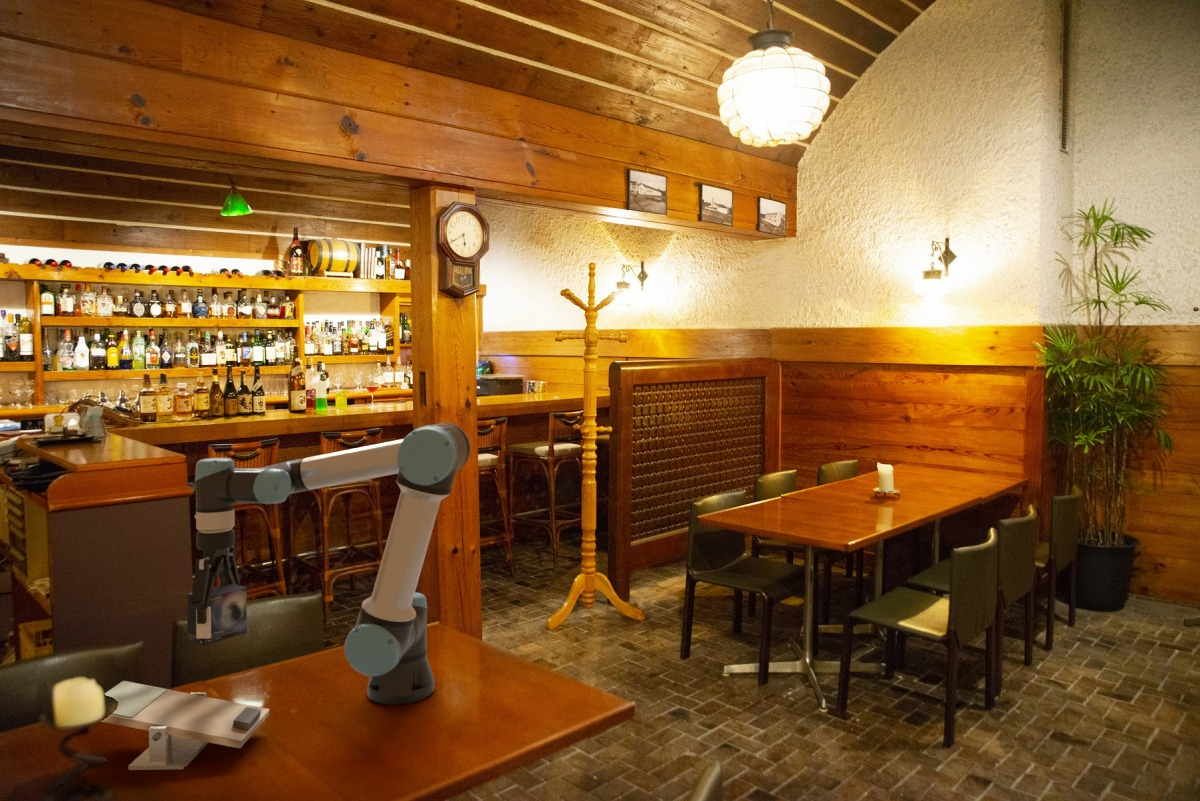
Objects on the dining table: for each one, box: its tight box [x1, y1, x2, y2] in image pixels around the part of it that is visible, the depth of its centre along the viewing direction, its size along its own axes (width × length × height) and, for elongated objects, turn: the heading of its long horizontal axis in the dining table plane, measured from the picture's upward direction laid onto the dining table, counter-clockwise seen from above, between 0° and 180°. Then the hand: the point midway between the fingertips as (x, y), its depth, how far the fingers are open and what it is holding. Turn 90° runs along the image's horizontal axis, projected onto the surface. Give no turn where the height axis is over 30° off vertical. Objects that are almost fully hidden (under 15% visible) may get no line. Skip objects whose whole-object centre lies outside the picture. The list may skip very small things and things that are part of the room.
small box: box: [186, 583, 248, 646], centre depth 173 cm, size 11×6×10 cm, turn 148°
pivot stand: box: [127, 691, 209, 771], centre depth 156 cm, size 10×18×8 cm, turn 2°
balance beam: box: [100, 680, 270, 749], centre depth 156 cm, size 30×14×3 cm, turn 92°
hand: (216, 628), depth 173 cm, fingers closed on small box, 12 cm apart
